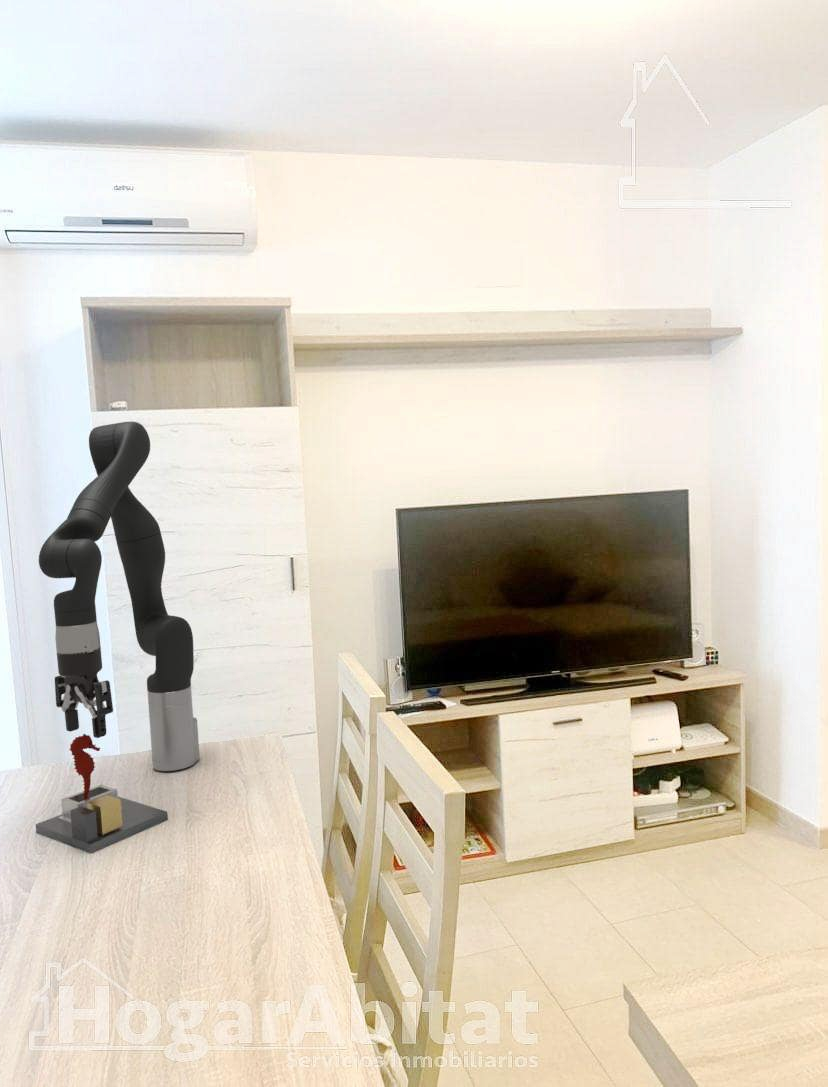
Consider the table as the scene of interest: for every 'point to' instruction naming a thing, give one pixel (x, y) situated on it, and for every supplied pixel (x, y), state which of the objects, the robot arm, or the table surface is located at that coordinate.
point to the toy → (83, 760)
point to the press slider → (107, 813)
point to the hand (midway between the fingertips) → (86, 733)
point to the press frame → (82, 827)
